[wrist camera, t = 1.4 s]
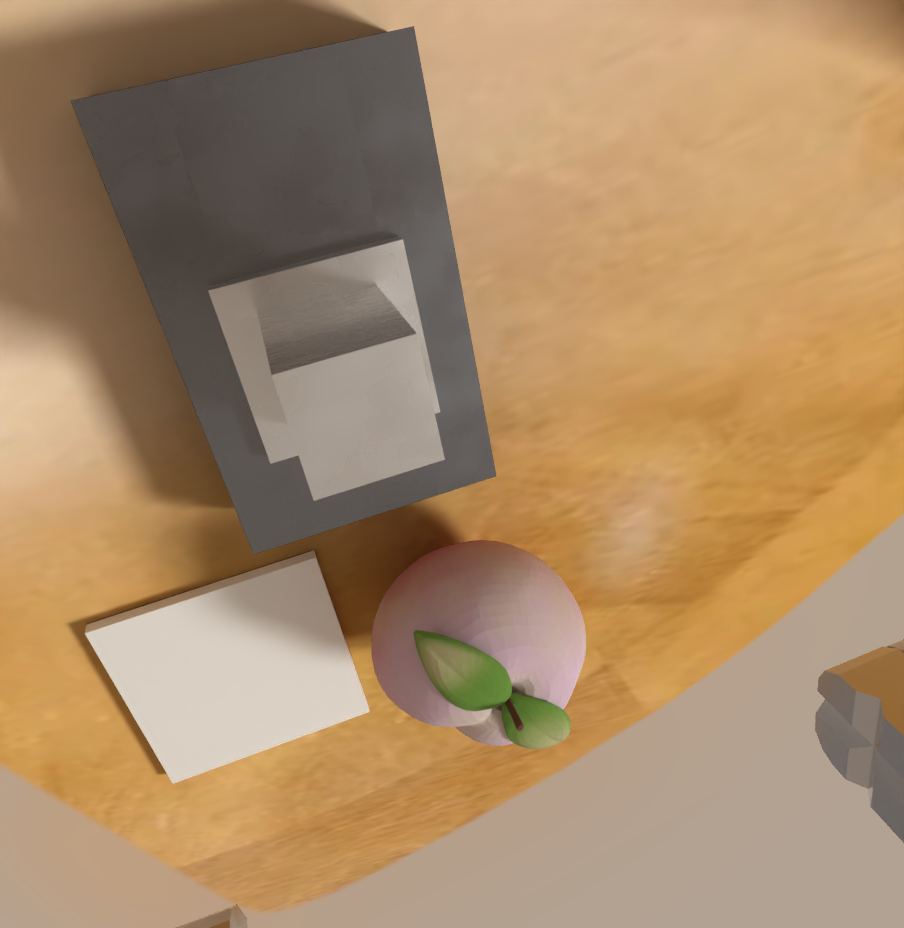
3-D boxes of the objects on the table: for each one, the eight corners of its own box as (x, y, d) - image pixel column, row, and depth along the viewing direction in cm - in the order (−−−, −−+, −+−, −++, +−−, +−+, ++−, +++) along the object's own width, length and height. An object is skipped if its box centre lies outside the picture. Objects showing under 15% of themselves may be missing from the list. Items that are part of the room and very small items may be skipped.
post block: (248, 509, 32) (253, 554, 29) (87, 97, 24) (70, 101, 21) (469, 440, 33) (496, 476, 30) (388, 31, 25) (414, 26, 22)
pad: (173, 774, 37) (172, 783, 37) (86, 624, 32) (84, 633, 31) (367, 703, 39) (369, 711, 38) (314, 550, 34) (315, 557, 33)
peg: (262, 419, 30) (285, 547, 22) (207, 263, 27) (209, 345, 19) (414, 374, 31) (489, 481, 23) (378, 218, 28) (450, 278, 20)
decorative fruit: (568, 544, 38) (675, 681, 29) (471, 662, 39) (546, 824, 31) (424, 461, 33) (501, 595, 25) (321, 598, 35) (360, 768, 26)
